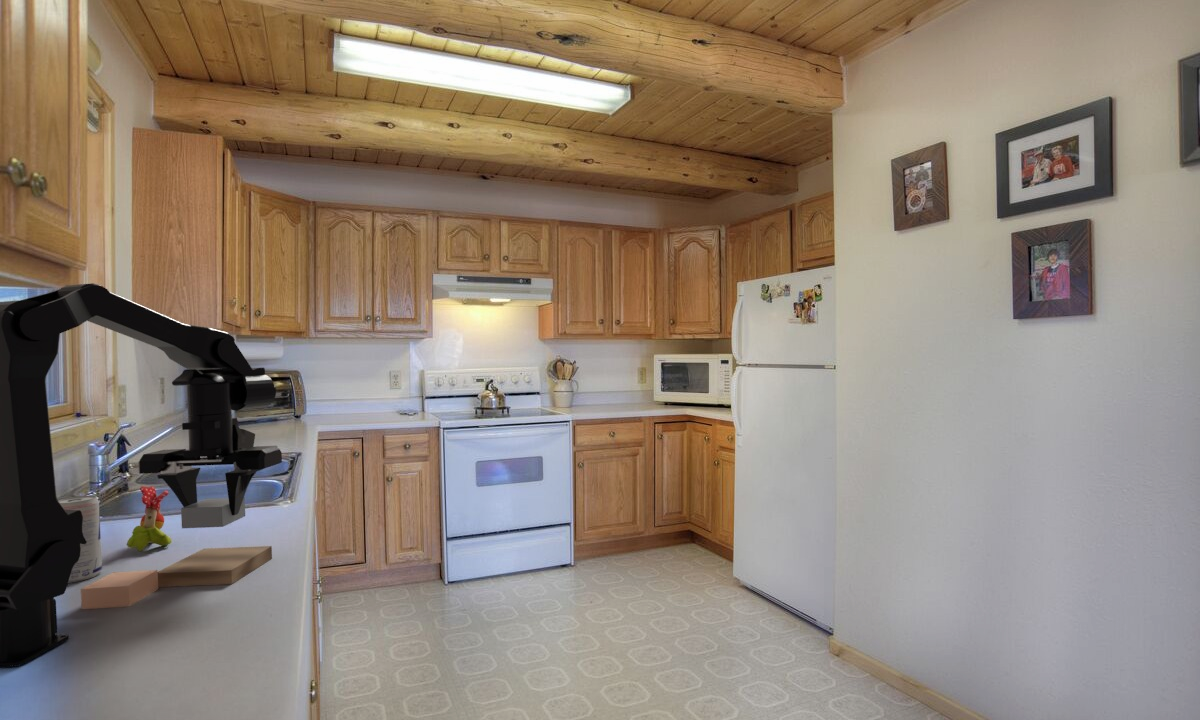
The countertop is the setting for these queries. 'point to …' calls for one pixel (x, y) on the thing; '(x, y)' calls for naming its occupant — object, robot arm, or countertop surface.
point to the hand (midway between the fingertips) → (214, 515)
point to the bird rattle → (150, 522)
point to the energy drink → (86, 537)
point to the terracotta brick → (119, 589)
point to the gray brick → (210, 513)
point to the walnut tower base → (214, 566)
